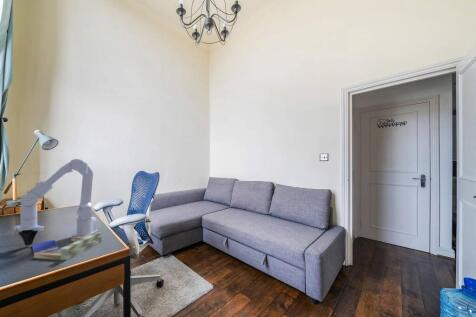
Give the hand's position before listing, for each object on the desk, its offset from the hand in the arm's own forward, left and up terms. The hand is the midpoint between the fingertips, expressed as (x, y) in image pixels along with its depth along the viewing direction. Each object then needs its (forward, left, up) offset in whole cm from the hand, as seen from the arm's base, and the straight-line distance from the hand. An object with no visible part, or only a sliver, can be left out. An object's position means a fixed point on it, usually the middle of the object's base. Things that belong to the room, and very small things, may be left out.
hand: (28, 244), depth 97 cm
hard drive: (0, +9, -2) cm, 9 cm away
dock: (0, +23, -1) cm, 23 cm away
